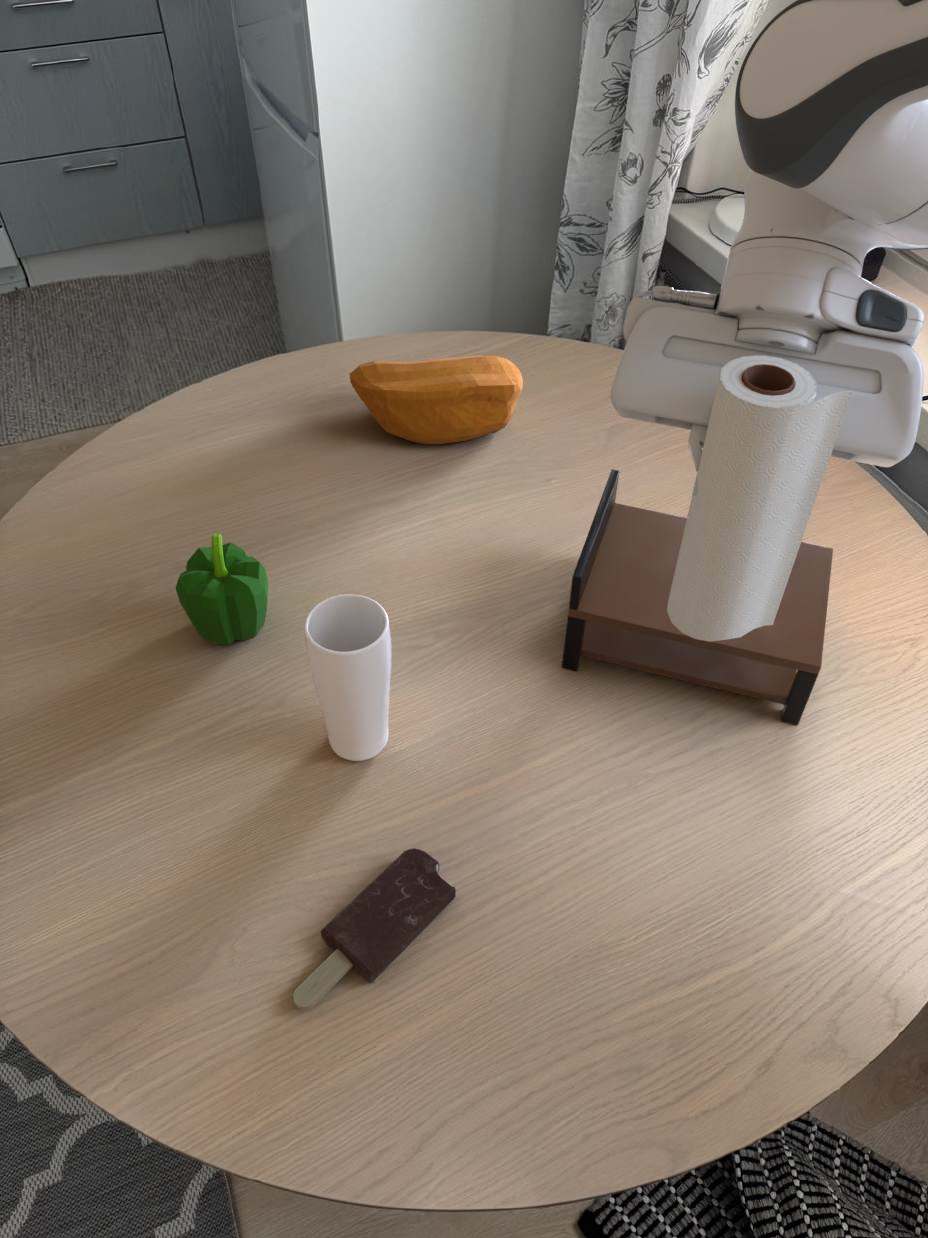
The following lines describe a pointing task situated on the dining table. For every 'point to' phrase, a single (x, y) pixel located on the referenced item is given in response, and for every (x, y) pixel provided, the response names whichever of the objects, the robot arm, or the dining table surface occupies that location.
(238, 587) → the bell pepper
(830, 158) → the robot arm
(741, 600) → the paper towel roll
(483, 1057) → the dining table surface
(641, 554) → the rack
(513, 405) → the bread
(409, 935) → the ice cream bar
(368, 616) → the drinking glass
